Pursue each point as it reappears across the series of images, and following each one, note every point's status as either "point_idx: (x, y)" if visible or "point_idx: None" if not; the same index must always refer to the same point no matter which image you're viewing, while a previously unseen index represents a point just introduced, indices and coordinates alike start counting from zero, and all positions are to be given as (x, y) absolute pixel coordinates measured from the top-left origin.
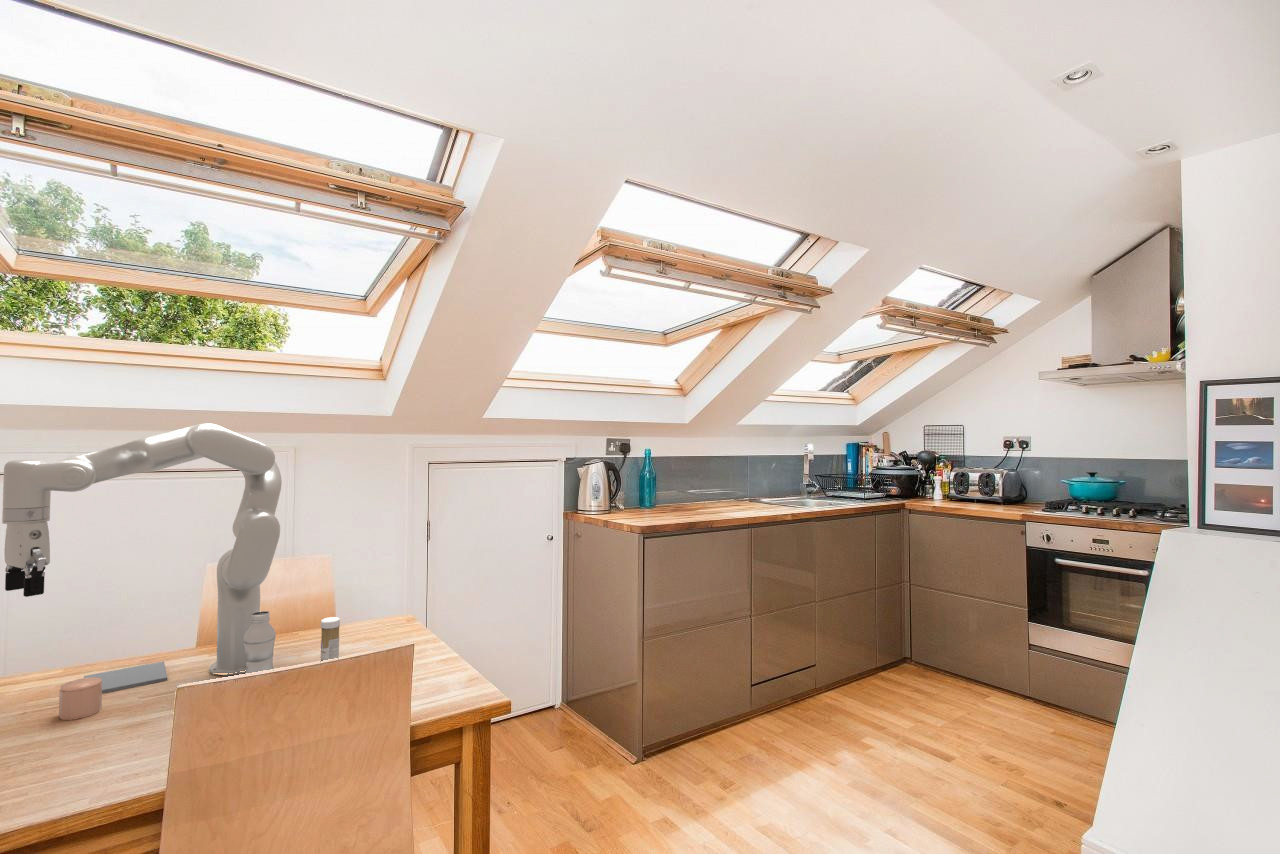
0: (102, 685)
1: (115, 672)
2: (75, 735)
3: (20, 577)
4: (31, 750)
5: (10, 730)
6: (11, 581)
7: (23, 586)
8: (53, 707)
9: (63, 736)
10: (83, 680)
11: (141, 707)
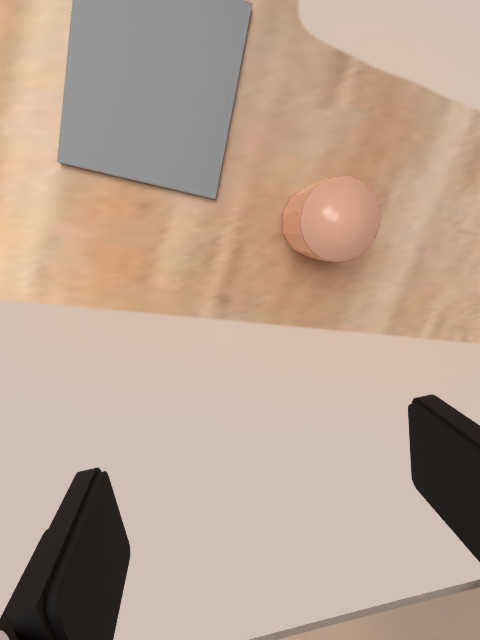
0: (186, 148)
1: (89, 92)
2: (428, 252)
3: (85, 572)
4: (430, 313)
5: (304, 327)
6: (108, 596)
7: (106, 483)
8: (234, 254)
9: (414, 268)
10: (321, 211)
11: (390, 124)
